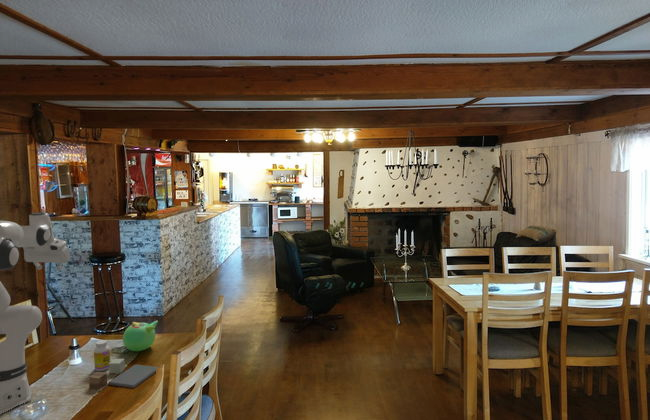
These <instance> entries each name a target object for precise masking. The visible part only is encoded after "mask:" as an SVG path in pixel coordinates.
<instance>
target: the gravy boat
mask: <svg viewBox="0 0 650 420" xmlns="http://www.w3.org/2000/svg"><path fill="white" fill-rule="evenodd" d="M131 323H132V324H131V325H129V326H128V327H126V329H125V331H124V333H123V336H122V343H123V345H124V347H125V348H126V349H127V350H128V351H129V350H130V351H133V352H141V351H145V350H147V349H149V348H150V347H151V346H152V345H153V344H154V341H155V338H156V330H155V329H156V327H157V325H158V323H159V321H158V320H154V321H153V322H151V323H148V322H143V321H141V322H136V321H133V322H131Z"/></svg>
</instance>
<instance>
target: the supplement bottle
mask: <svg viewBox="0 0 650 420" xmlns="http://www.w3.org/2000/svg"><path fill="white" fill-rule="evenodd" d="M95 346H96V347H95V348H94V349H93V357H94V358H93V359H94V370H95V371H96V372H104V371H106V370H109V363H110V362H111V356H110V355H111V354H110V353H111V352H110V351H111V350H110V347H109V345H108V341H107V340H104V339H103V340H98V341H96V342H95Z"/></svg>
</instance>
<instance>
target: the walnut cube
mask: <svg viewBox="0 0 650 420" xmlns="http://www.w3.org/2000/svg"><path fill="white" fill-rule="evenodd" d="M104 385H105V386H106V385H109V382H108V373H107V372H104V371H96V372H95V373H93V374H92V375H89V376H88V386H89V387H90V388H89V389H94V388H97V389H96V390H100V389H102V388H103V387H105V386H104ZM101 387H102V388H101Z"/></svg>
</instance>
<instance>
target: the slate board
mask: <svg viewBox="0 0 650 420" xmlns="http://www.w3.org/2000/svg"><path fill="white" fill-rule="evenodd" d="M158 367H159V366H152V365H141V364H134V365H133V366H130V367H129V368H128V369H125V370H124V371H122V372H121V373H120V374H117V376H115V377H114V378H112V379H111V380H109V381H108V385H110V386H116V387H124V388H125V387H126V388H133V389H135V388H136V387H137V386H139V385H140V384H142V383H143V382H145V381H146V380H147V379H149V378H150V377H151V376H153V375H154V374H155V372H156V369H157V368H158ZM156 373H157V372H156Z"/></svg>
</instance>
